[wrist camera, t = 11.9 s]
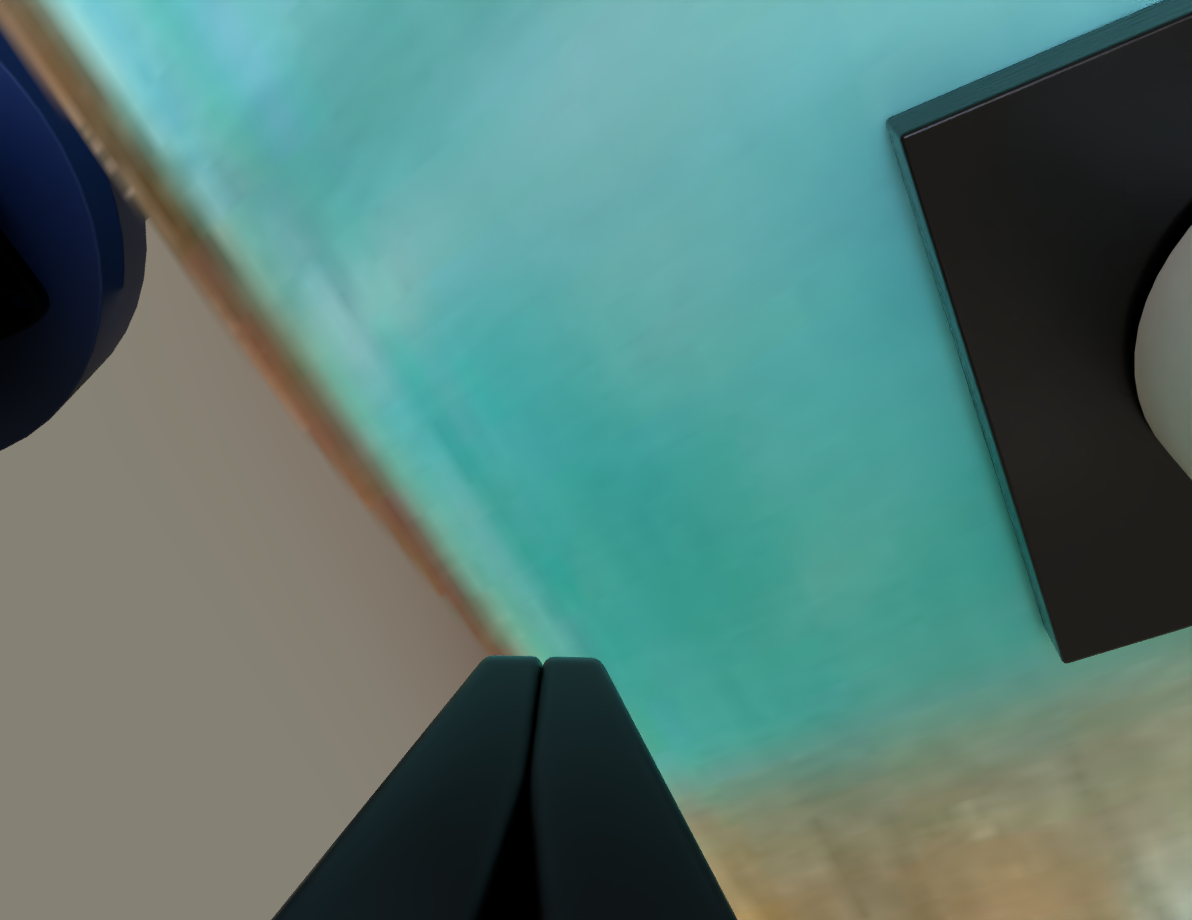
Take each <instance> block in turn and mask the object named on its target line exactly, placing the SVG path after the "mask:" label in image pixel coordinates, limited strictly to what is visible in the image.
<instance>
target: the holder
mask: <svg viewBox="0 0 1192 920" xmlns="http://www.w3.org/2000/svg"><path fill="white" fill-rule="evenodd" d="M886 125H887V128H888V132H889V135H890V138H891V141H892V144H893V147H894V151H895V154H896V157H897V160H898V163H899V166H900V170H901V173H902V176H903V179H904V182H905V185H906V189H907V192H908V195H909V198H910V201H911V204H912V208H913V211H914V214H915V217H916V220H917V223H918V227H919V230H920V233H921V236H922V239H923V242H924V246H925V249H926V252H927V255H928V258H929V261H930V265H931V268H932V271H933V274H934V277H935V280H936V284H937V287H938V290H939V293H940V296H941V299H942V303H943V306H944V309H945V312H946V315H947V318H948V322H949V325H950V328H951V331H952V334H953V337H954V341H955V344H956V347H957V350H958V353H959V356H960V360H961V363H962V366H963V369H964V372H965V375H966V379H967V382H968V385H969V388H970V391H971V394H972V398H973V401H974V404H975V407H976V410H977V413H978V417H979V420H980V423H981V426H982V429H983V432H984V436H985V439H986V442H987V445H988V448H989V451H990V454H991V458H992V461H993V464H994V467H995V470H996V473H997V477H998V480H999V483H1000V486H1001V489H1002V492H1003V496H1004V499H1005V502H1006V505H1007V508H1008V511H1009V515H1010V518H1011V521H1012V524H1013V527H1014V530H1015V534H1016V537H1017V540H1018V543H1019V546H1020V549H1021V553H1022V556H1023V559H1024V562H1025V565H1026V568H1027V572H1028V575H1029V578H1030V581H1031V584H1032V587H1033V591H1034V594H1035V597H1036V600H1037V603H1038V606H1039V610H1040V613H1041V616H1042V619H1043V622H1044V625H1045V629H1046V631H1047V633H1048V635H1049V637H1050V639H1051V641H1052V642H1053V644H1054V646H1055V648H1056V650H1057V652H1058V654H1059V656H1060V658H1061V660H1062V661H1063V662H1064V663H1070V662H1074V661H1077V660H1080V659H1084V658H1087V657H1090V656H1094V655H1097V654H1100V653H1104V652H1107V651H1110V650H1114V649H1117V648H1120V647H1124V646H1127V645H1130V644H1134V643H1137V642H1140V641H1144V640H1147V639H1150V638H1154V637H1157V636H1160V635H1164V634H1167V633H1170V632H1174V631H1177V630H1180V629H1184V628H1187V627H1190V626H1192V480H1191V479H1190V477H1189V476H1188V475H1187V474H1186V473H1185V472H1184V470H1183V469H1182V468H1181V467H1180V466H1179V464H1178V463H1177V462H1176V461H1175V460H1174V459H1173V457H1172V456H1171V455H1170V454H1169V453H1168V451H1167V450H1166V449H1165V448H1164V446H1163V445H1162V444H1161V443H1160V442H1159V440H1158V439H1157V438H1156V437H1155V435H1154V433H1153V431H1152V430H1151V428H1150V426H1149V424H1148V422H1147V420H1146V419H1145V416H1144V413H1143V410H1142V407H1141V404H1140V402H1139V399H1138V394H1137V387H1136V381H1135V346H1136V339H1137V333H1138V326H1139V323H1140V320H1141V316H1142V313H1143V309H1144V306H1145V303H1146V300H1147V298H1148V296H1149V293H1150V291H1151V289H1152V286H1153V284H1154V282H1155V280H1156V277H1157V275H1158V274H1159V272H1160V270H1161V269H1162V267H1163V265H1164V264H1165V262H1166V260H1167V258H1168V257H1169V255H1170V253H1171V252H1172V250H1173V249H1174V248H1175V246H1176V245H1177V244H1178V242H1179V241H1180V240H1181V238H1182V237H1183V236H1184V234H1185V233H1186V231H1187V230H1188V229H1189V227H1190V226H1191V225H1192V0H1163V1H1161V2H1159V3H1156V4H1154V5H1152V6H1149V7H1147V8H1145V9H1142V10H1140V11H1138V12H1135V13H1133V14H1131V15H1128V16H1126V17H1124V18H1121V19H1119V20H1117V21H1114V22H1112V23H1110V24H1107V25H1105V26H1103V27H1100V28H1098V29H1096V30H1093V31H1091V32H1089V33H1086V34H1084V35H1082V36H1079V37H1077V38H1075V39H1072V40H1070V41H1068V42H1065V43H1063V44H1061V45H1058V46H1056V47H1054V48H1051V49H1049V50H1047V51H1044V52H1042V53H1040V54H1037V55H1035V56H1033V57H1030V58H1028V59H1026V60H1023V61H1021V62H1019V63H1016V64H1014V65H1012V66H1009V67H1007V68H1005V69H1002V70H1000V71H998V72H995V73H993V74H991V75H988V76H986V77H984V78H981V79H979V80H977V81H974V82H972V83H970V84H967V85H965V86H963V87H960V88H958V89H956V90H953V91H951V92H949V93H946V94H944V95H942V96H939V97H937V98H935V99H932V100H930V101H928V102H925V103H923V104H921V105H918V106H916V107H914V108H911V109H909V110H907V111H904V112H902V113H900V114H897V115H895V116H893V117H890V118H889V119H888V120H887V122H886Z"/></svg>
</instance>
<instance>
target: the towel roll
mask: <svg viewBox="0 0 1192 920" xmlns="http://www.w3.org/2000/svg"><path fill="white" fill-rule="evenodd" d="M1135 381H1136V387H1137V394H1138V399H1139V402H1140V404H1141V407H1142V410H1143V413H1144V416H1145V419H1146V420H1147V422H1148V424H1149V426H1150V428H1151V430H1152V431H1153V433H1154V435H1155V437H1156V438H1157V439H1158V440H1159V442H1160V443H1161V444H1162V445H1163V446H1164V448H1165V449H1166V450H1167V451H1168V453H1169V454H1170V455H1171V456H1172V457H1173V459H1174V460H1175V461H1176V462H1177V463H1178V464H1179V466H1180V467H1181V468H1182V469H1183V470H1184V472H1185V473H1186V474H1187V475H1188V476H1189V477H1190V479H1191V480H1192V225H1191V226H1190V227H1189V229H1188V230H1187V231H1186V233H1185V234H1184V236H1183V237H1182V238H1181V240H1180V241H1179V242H1178V244H1177V245H1176V246H1175V248H1174V249H1173V250H1172V252H1171V253H1170V255H1169V257H1168V258H1167V260H1166V262H1165V264H1164V265H1163V267H1162V269H1161V270H1160V272H1159V274H1158V275H1157V277H1156V280H1155V282H1154V284H1153V286H1152V289H1151V291H1150V293H1149V296H1148V298H1147V300H1146V303H1145V306H1144V309H1143V313H1142V316H1141V320H1140V323H1139V326H1138V333H1137V339H1136V346H1135Z"/></svg>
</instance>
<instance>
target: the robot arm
mask: <svg viewBox="0 0 1192 920" xmlns="http://www.w3.org/2000/svg"><path fill="white" fill-rule="evenodd" d="M11 292H12V293H15V294H18V295H20V296H21V297H22V298H23V299H24V300H25V301H26V303H27V306H28V309H24V308H21V307H19V306H17V305H16V304H15V303H14V302H13V300H12V298H11ZM49 306H50V303H49V296H48V294H47V292H46V290H45V288H44V286H43V285H42V284H41V282H40V281H39V280H38V278H37V277H36V276H35V274H34V273H33V272H32V270H31V269H30V268H29V266H28V265H27V264H26V262H25V261H24V260H23V258H22V257H21V256H20V254H19V253H18V252H17V250H16V249H15V247H14V246H13V245H12V243H11V242H10V241H9V239H8V238H7V237H6V235H5V234H4V233H3V231H2V230H1V229H0V341H2V340H4V339H6V338H8V337H10V336H12V335H14V334H17V333H19V332H21V331H23V330H25V329H27V328H29V327H31V326H32V325H34V324H35V323H36V322H37V321H39V320H40V319H41V318H42V317H43V316H44V315H45V314H47V312H48V309H49ZM272 920H737V918H736V916H735V914H734V912H733V910H732V909H731V907H730V905H729V903H728V901H727V899H726V897H725V895H724V893H723V891H722V889H721V888H720V886H719V884H718V882H717V880H716V878H715V876H714V874H713V872H712V870H711V869H710V867H709V865H708V863H707V861H706V859H705V857H704V855H703V853H702V851H701V849H700V848H699V846H698V844H697V842H696V840H695V838H694V836H693V834H692V832H691V830H690V829H689V827H688V825H687V823H686V821H685V819H684V817H683V815H682V813H681V811H680V809H679V808H678V806H677V804H676V802H675V800H674V798H673V796H672V794H671V792H670V790H669V789H668V787H667V785H666V783H665V781H664V779H663V777H662V775H661V773H660V771H659V769H658V768H657V766H656V764H655V762H654V760H653V758H652V756H651V754H650V752H649V750H648V749H647V747H646V745H645V743H644V741H643V739H642V737H641V735H640V733H639V731H638V729H637V728H636V726H635V724H634V722H633V720H632V718H631V716H630V714H629V712H628V710H627V709H626V707H625V705H624V703H623V701H622V699H621V697H620V695H619V693H618V691H617V690H616V688H615V686H614V684H613V682H612V680H611V678H610V676H609V674H608V672H607V670H606V669H605V667H604V665H603V664H602V663H601V662H600V661H599V660H597V659H595V658H580V657H550V658H549V659H547V660H546V661H545V663H544V664H543V667H542V663H541V662H540V660H539V659H538V658H536V657H533V656H497V655H493V656H488V657H486V658H485V659H483V660H482V661H481V662H480V664H479V665H478V666H477V667H476V669H475V670H474V671H473V672H472V673H471V675H470V676H469V677H468V678H467V680H466V681H465V682H464V683H463V685H462V686H461V687H460V688H459V689H458V691H457V692H456V693H455V694H454V696H453V697H452V698H451V699H450V700H449V702H448V703H447V704H446V705H445V707H444V708H443V709H442V711H440V713H439V714H438V715H437V716H436V718H435V719H434V720H433V721H432V723H431V724H430V725H429V726H428V728H427V729H426V730H425V731H424V732H423V734H422V735H421V736H420V737H419V739H418V740H417V741H416V742H415V743H414V745H413V746H412V747H411V749H410V750H409V751H408V752H407V753H406V755H405V756H404V757H403V758H402V760H401V761H400V762H399V763H398V764H397V766H396V767H395V768H394V769H393V771H392V772H391V773H390V774H389V775H388V777H387V778H386V779H385V780H384V782H383V783H382V784H381V785H380V787H379V788H378V789H377V790H376V791H375V793H374V794H373V795H372V796H371V798H370V799H369V800H368V802H367V803H366V804H365V805H364V806H363V808H362V809H361V810H360V811H359V812H358V814H357V815H356V816H355V817H354V819H353V820H352V821H351V822H350V824H349V825H348V826H347V827H346V828H345V830H344V831H343V832H342V833H341V835H340V836H339V837H338V838H337V840H336V841H335V842H334V843H333V844H332V846H331V847H330V848H329V849H328V851H327V852H326V853H325V854H324V856H323V857H322V858H321V859H320V861H319V862H318V863H317V864H316V866H315V867H314V868H313V869H312V870H311V872H310V873H309V874H308V875H307V876H306V878H305V879H304V880H303V882H302V883H301V884H300V885H299V886H298V888H297V889H296V890H295V891H294V892H293V894H292V895H291V896H290V898H289V899H288V900H287V901H286V902H285V904H284V905H283V906H282V907H281V909H280V910H279V911H278V912H277V913H276V915H275V916H274V917H273V919H272Z"/></svg>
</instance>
